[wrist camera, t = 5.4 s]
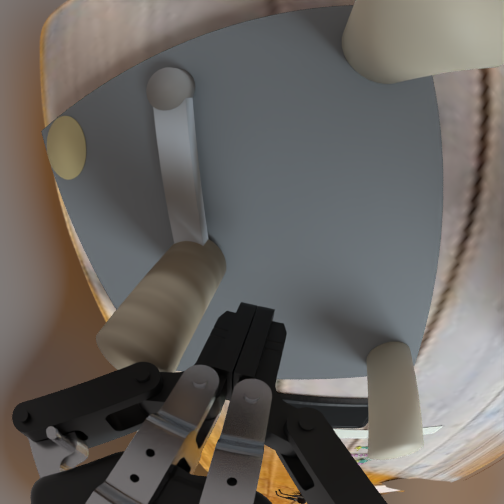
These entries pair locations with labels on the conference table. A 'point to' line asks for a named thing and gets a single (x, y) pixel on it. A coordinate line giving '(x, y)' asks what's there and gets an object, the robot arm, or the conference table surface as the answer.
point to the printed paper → (364, 434)
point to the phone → (334, 409)
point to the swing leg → (179, 254)
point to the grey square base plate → (295, 182)
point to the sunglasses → (300, 498)
